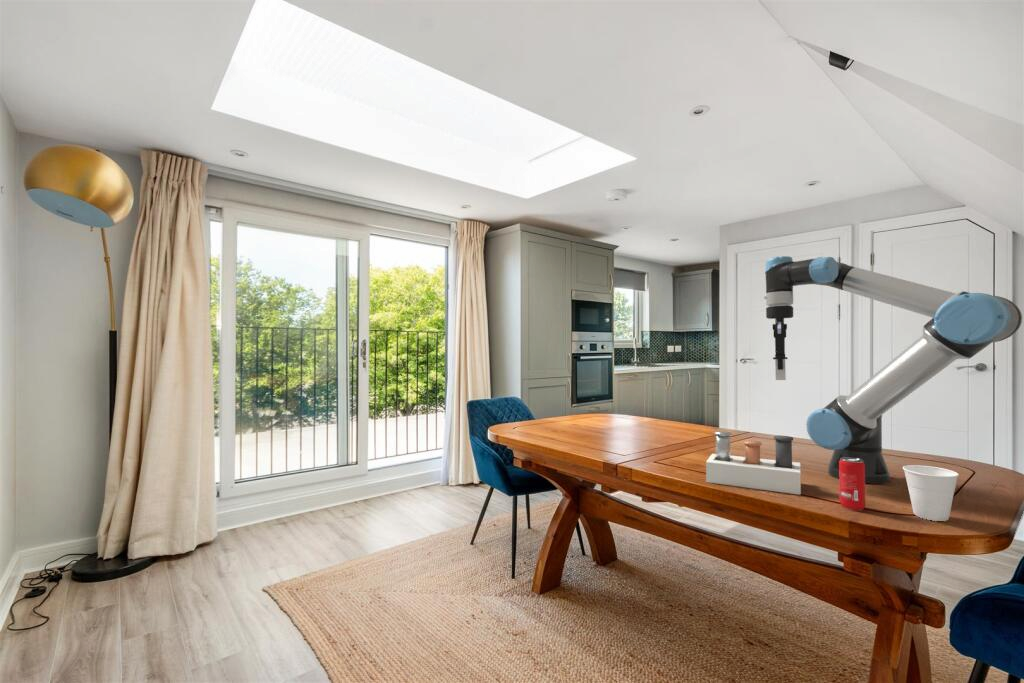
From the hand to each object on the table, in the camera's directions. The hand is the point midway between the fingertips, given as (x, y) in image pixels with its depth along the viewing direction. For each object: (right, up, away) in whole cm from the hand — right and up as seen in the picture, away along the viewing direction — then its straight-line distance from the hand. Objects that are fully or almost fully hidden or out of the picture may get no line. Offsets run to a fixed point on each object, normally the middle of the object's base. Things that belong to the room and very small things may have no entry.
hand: (780, 379), depth 149 cm
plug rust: (-14, -27, -11) cm, 33 cm away
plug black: (-8, -25, -15) cm, 30 cm away
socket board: (-14, -30, -11) cm, 35 cm away
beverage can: (-1, -30, -32) cm, 44 cm away
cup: (+13, -29, -39) cm, 51 cm away
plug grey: (-21, -25, -7) cm, 34 cm away
